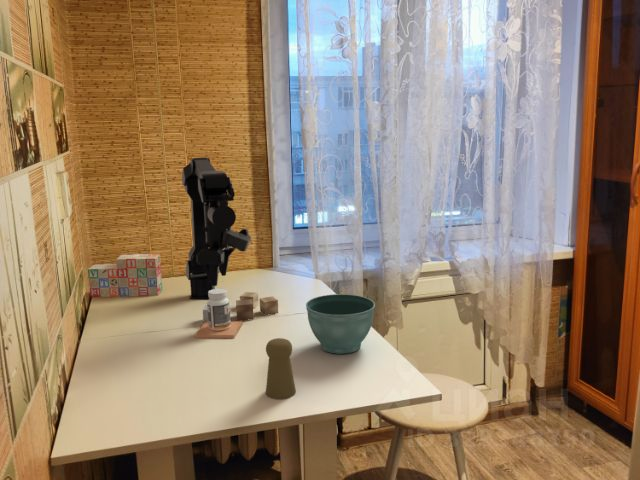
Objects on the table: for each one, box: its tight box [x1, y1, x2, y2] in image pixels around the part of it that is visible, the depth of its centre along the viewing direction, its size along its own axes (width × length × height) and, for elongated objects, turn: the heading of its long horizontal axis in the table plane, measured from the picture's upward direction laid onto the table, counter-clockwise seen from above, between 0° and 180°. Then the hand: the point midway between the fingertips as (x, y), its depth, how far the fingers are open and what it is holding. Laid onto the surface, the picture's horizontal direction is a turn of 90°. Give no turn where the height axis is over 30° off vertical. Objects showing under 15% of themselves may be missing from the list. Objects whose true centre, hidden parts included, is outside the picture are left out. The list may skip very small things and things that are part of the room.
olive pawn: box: [265, 337, 297, 400], centre depth 117 cm, size 6×6×11 cm
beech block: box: [239, 291, 260, 310], centre depth 171 cm, size 4×4×4 cm
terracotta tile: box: [194, 320, 243, 339], centre depth 153 cm, size 10×10×1 cm
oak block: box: [259, 296, 279, 316], centre depth 166 cm, size 4×4×4 cm
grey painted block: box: [202, 304, 208, 325], centre depth 160 cm, size 4×4×4 cm
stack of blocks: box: [87, 253, 163, 298], centre depth 187 cm, size 21×6×12 cm, turn 91°
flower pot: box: [305, 293, 376, 355], centre depth 139 cm, size 16×16×11 cm
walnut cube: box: [235, 299, 255, 322], centre depth 162 cm, size 4×4×4 cm
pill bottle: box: [206, 288, 231, 331], centre depth 152 cm, size 6×6×10 cm
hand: (219, 280), depth 154 cm, fingers open, 9 cm apart
